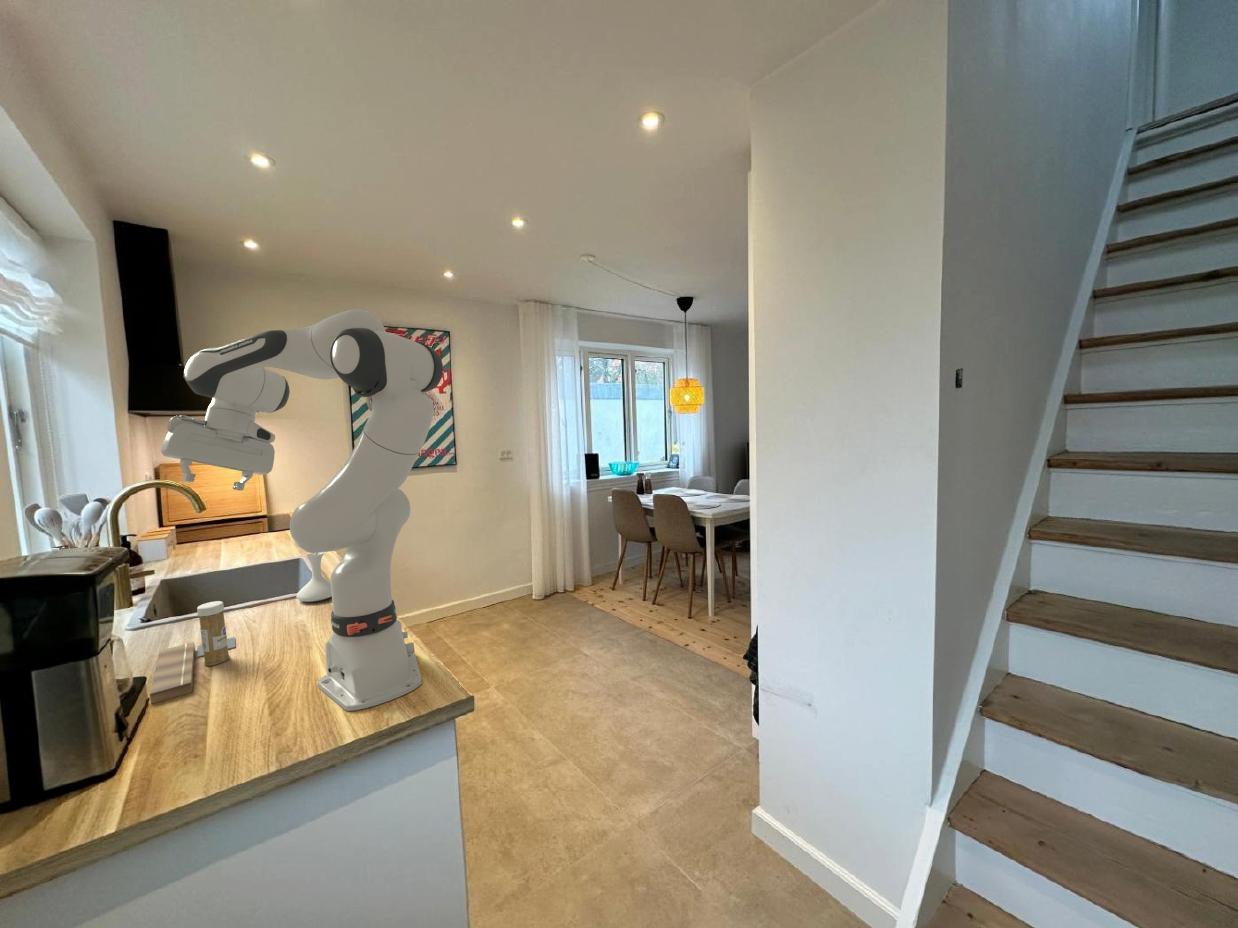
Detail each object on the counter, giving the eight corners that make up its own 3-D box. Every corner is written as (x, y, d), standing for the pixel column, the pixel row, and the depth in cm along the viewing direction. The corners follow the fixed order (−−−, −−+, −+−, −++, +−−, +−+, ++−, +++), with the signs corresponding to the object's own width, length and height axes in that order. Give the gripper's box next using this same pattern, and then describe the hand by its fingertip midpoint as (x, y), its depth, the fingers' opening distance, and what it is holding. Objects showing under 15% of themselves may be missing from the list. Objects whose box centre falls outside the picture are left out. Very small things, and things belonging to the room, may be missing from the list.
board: (192, 691, 98) (190, 681, 98) (151, 703, 95) (149, 693, 94) (195, 650, 117) (194, 641, 117) (160, 658, 113) (159, 649, 113)
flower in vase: (287, 605, 144) (279, 522, 141) (312, 591, 155) (305, 514, 152) (331, 604, 143) (323, 521, 141) (353, 590, 154) (346, 512, 152)
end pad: (235, 647, 117) (235, 646, 117) (197, 657, 113) (197, 656, 113) (234, 638, 123) (234, 636, 123) (197, 647, 118) (197, 646, 118)
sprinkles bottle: (228, 662, 110) (221, 604, 109) (202, 668, 108) (195, 609, 106) (230, 654, 114) (224, 598, 113) (205, 660, 112) (198, 603, 110)
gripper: (178, 410, 102) (160, 475, 98) (282, 437, 119) (270, 493, 116) (165, 414, 105) (147, 477, 101) (268, 440, 122) (256, 494, 119)
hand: (213, 486), depth 109 cm, fingers open, 8 cm apart
